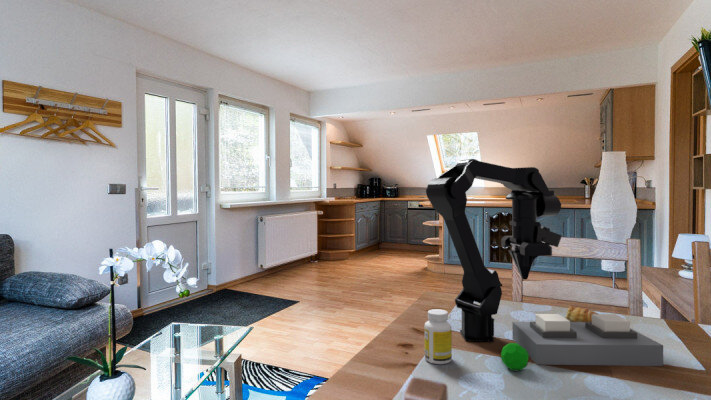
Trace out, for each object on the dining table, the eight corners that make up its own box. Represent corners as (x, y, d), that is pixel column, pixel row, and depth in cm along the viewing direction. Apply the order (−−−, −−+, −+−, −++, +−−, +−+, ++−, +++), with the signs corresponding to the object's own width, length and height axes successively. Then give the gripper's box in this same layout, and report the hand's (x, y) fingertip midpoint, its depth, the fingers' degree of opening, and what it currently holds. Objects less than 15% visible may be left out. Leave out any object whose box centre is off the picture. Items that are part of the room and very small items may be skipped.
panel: (537, 364, 79) (536, 338, 79) (512, 338, 93) (512, 316, 93) (663, 365, 78) (663, 339, 78) (619, 339, 92) (619, 317, 91)
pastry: (610, 324, 103) (610, 309, 103) (606, 331, 98) (606, 316, 98) (570, 317, 109) (570, 303, 109) (564, 323, 104) (563, 309, 104)
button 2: (604, 335, 82) (604, 321, 82) (591, 327, 87) (591, 314, 87) (629, 335, 82) (629, 321, 82) (615, 327, 87) (615, 314, 87)
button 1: (545, 335, 83) (545, 321, 83) (535, 327, 88) (535, 313, 88) (570, 335, 83) (569, 321, 83) (558, 327, 88) (558, 314, 88)
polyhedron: (502, 373, 75) (502, 348, 75) (499, 362, 80) (499, 338, 80) (531, 375, 74) (531, 350, 74) (526, 364, 79) (526, 340, 79)
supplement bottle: (456, 359, 82) (456, 311, 82) (442, 367, 78) (441, 317, 78) (434, 352, 85) (433, 306, 85) (419, 359, 82) (419, 311, 81)
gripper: (575, 219, 91) (575, 287, 91) (541, 215, 110) (542, 272, 110) (525, 220, 92) (525, 287, 92) (500, 215, 110) (500, 272, 111)
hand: (524, 279), depth 101 cm, fingers closed
